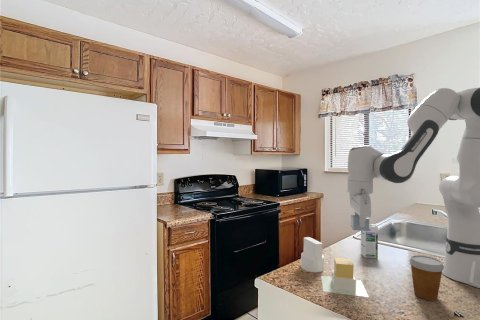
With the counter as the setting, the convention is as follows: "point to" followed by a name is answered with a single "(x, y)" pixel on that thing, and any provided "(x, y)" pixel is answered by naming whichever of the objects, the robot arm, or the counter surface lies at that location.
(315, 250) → the cylinder with rectangular tab
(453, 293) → the counter surface
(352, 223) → the slate brick
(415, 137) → the robot arm
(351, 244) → the counter surface
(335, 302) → the counter surface
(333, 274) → the base brick
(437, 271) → the disposable coffee cup
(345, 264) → the mustard brick
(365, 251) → the syrup box
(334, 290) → the plate
